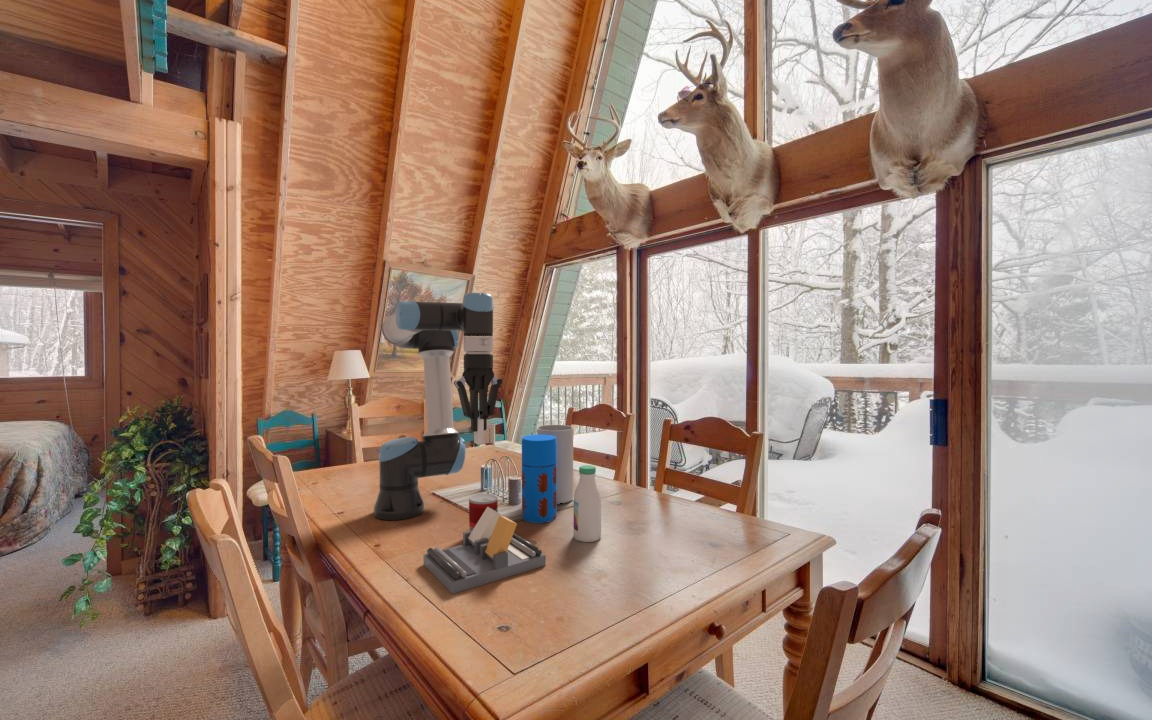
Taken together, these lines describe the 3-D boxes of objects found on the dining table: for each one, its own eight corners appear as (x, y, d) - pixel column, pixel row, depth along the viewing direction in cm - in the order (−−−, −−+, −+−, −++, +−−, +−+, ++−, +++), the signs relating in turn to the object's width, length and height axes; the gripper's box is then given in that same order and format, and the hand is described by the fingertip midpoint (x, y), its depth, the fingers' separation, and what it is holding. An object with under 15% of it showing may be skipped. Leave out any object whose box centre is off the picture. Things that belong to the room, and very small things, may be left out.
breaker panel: (423, 564, 125) (423, 541, 125) (509, 541, 139) (509, 521, 139) (452, 594, 110) (452, 568, 110) (545, 565, 124) (545, 542, 124)
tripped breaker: (483, 555, 122) (499, 515, 124) (491, 557, 123) (507, 517, 125) (493, 562, 118) (509, 521, 120) (501, 564, 119) (517, 523, 121)
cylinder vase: (541, 493, 184) (541, 424, 183) (575, 494, 182) (575, 425, 181) (533, 504, 171) (533, 430, 170) (570, 505, 170) (570, 431, 169)
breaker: (466, 540, 130) (487, 506, 133) (473, 544, 131) (494, 510, 134) (474, 547, 126) (496, 511, 129) (481, 551, 127) (503, 515, 130)
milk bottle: (605, 535, 144) (605, 465, 143) (594, 544, 137) (594, 471, 136) (580, 530, 147) (580, 462, 147) (568, 540, 140) (568, 468, 140)
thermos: (561, 513, 162) (561, 435, 161) (549, 525, 152) (548, 441, 151) (530, 509, 166) (530, 433, 165) (516, 520, 155) (515, 439, 155)
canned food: (492, 542, 139) (491, 502, 138) (464, 540, 140) (464, 500, 140) (501, 532, 146) (501, 494, 146) (475, 530, 148) (475, 492, 147)
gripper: (460, 353, 125) (461, 449, 126) (507, 353, 132) (507, 442, 133) (448, 353, 131) (449, 444, 132) (494, 352, 138) (494, 438, 139)
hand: (478, 443), depth 133 cm, fingers closed
